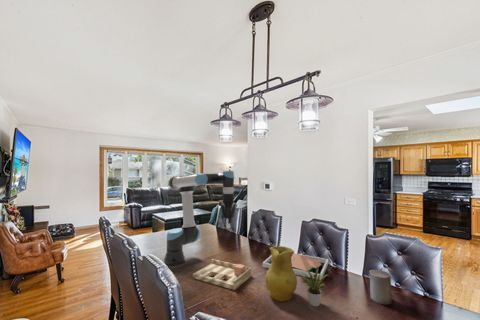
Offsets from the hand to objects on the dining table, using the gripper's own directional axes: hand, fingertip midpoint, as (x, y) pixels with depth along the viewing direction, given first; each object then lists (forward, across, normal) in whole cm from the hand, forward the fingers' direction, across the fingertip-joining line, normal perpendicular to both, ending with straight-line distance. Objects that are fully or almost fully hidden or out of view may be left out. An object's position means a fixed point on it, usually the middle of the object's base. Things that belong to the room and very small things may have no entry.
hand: (228, 228), depth 156 cm
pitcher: (+30, +41, -9) cm, 51 cm away
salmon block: (+27, +11, -3) cm, 29 cm away
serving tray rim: (+29, +37, +34) cm, 58 cm away
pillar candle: (+30, +88, +12) cm, 94 cm away
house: (+30, +37, +34) cm, 58 cm away
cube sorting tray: (+29, 0, -8) cm, 30 cm away
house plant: (+30, +59, -8) cm, 67 cm away
